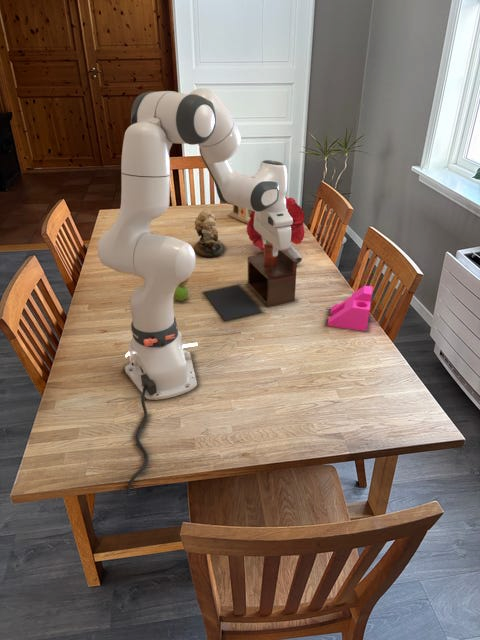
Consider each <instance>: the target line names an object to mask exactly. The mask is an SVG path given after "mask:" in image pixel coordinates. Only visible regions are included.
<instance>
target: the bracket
mask: <svg viewBox="0 0 480 640" xmlns="http://www.w3.org/2000/svg"><path fill="white" fill-rule="evenodd" d="M373 289H374V288H373V286H371V285H362V286H361V287H360V288H358V289H357V290H355V291H354V292H352V293H351V296H349V297H348V298H347V299H345V300H344V301H342V302H340V303H339V302H338V303H335V304H334V305H332V306H331V308H330V311H329V315H331V316H329V317H328V321H327V326H329V327H335V328H341V329H347V330H353V331H362V332H367V330H368V323H369V318H370V312H371V304H372V303H371V302H372V296H373Z"/></svg>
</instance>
